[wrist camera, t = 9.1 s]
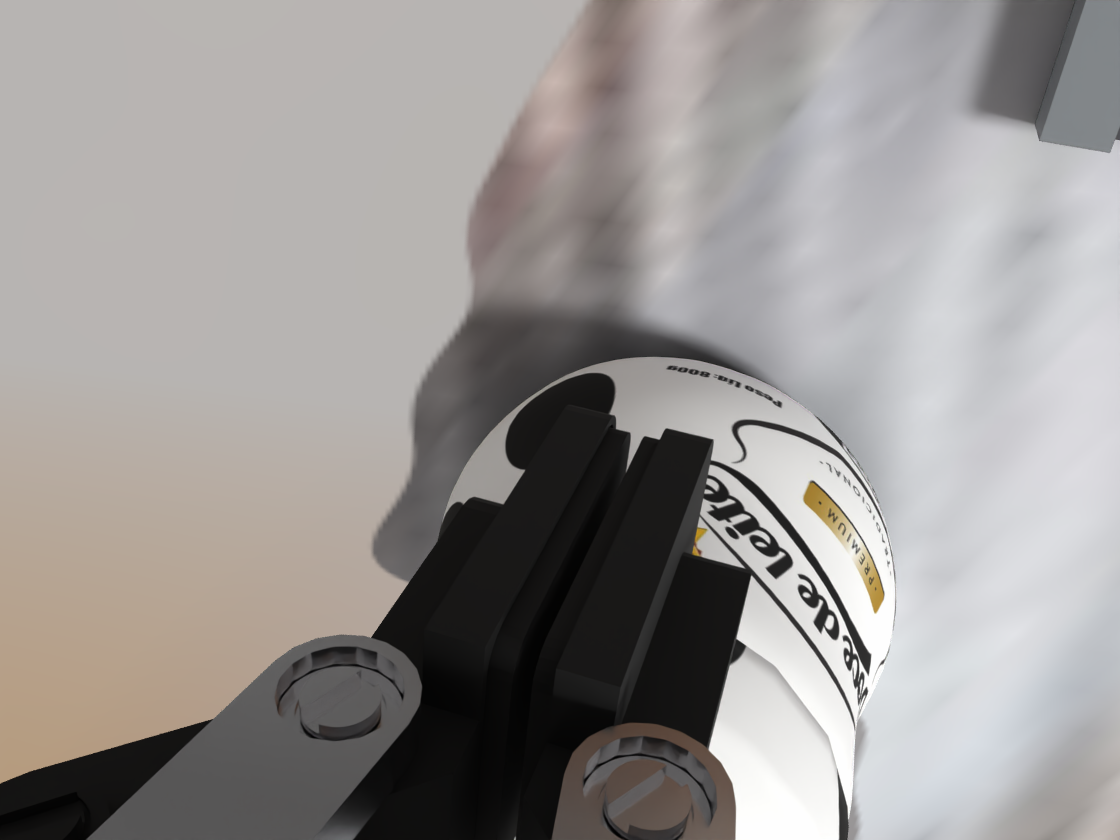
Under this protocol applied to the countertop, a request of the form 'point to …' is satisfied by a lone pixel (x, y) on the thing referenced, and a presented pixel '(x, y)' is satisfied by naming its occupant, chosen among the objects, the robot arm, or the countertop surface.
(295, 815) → the robot arm
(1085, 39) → the trap board
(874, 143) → the countertop surface
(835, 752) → the milk container
